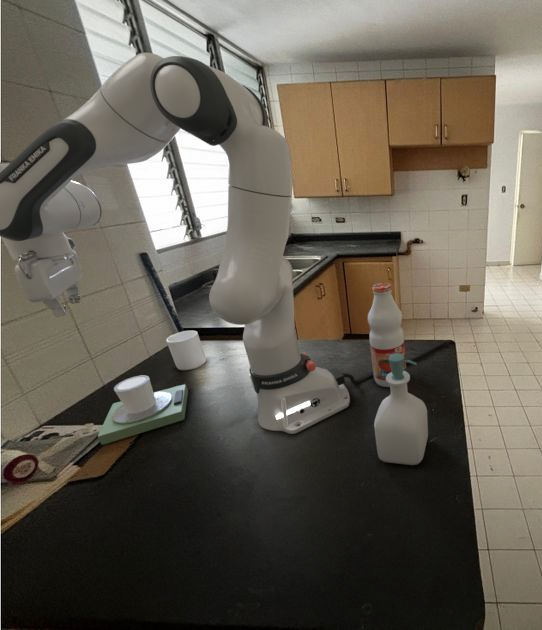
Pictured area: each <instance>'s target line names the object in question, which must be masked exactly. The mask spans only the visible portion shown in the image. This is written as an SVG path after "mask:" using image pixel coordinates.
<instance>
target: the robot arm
mask: <svg viewBox="0 0 542 630" xmlns="http://www.w3.org/2000/svg"><path fill="white" fill-rule="evenodd" d="M263 103H264V102H262V100H261V99H260V98H259V96H258V95H256V93H255V92H253V90H251V89H250V88H249V87H247V86H246V85H243V84H241V83H240V82H238V81H237V80H236V79H234V78H233V77H232V76H231V75H229V74H227V73H225V72H224V71H222V70H219V69H218V68H215V67H214V66H213V67H212V66H210V65H207V64H205V63H204V62H202V61H200V60H198V59H195V58H192V57H188V56H182V55H171V56H167V57H163V56H161V55H158V54H156V53H153V52H141V53H140V52H139V53H138V54H135V56H132V57H131V58H130V59H128V60H127V61H125V62H124V63H123V64H122V65H121V66H119V67H118V68H117V69H116V70H114V72H113V73H112V74H111V75H110V76H109V77H108V78H107V79H106V80H105V82H104V83H102V85H101V86H100V88H99V89H98V90H97V91H96V92H95V93H94V94H93V95H92V96H91V97H90V98H89V100H87V101H86V102H85V103H84V104H83V105H82V106H81V107H79V108H78V109H76V110H75V111H74V112H72V113H71V114H70V115H68V116H67V117H65V118H64V119H62V120H59V121H58V122H56V123H55V124H53V125H51V126H50V127H49V128H47V129H46V130H45V131H43V132H42V133H41V134H40V135H39V136H37V138H36V139H34V140H33V141H32V142H31V143H30V144H28V145H27V147H26V148H25V149H24V150H22V151H21V152H20V153H19V154H18V155H17V156H16V157H15V158H14V159H13V160H12V161H2V162H0V238H1V241H2V242H3V244H4V245H5V248H6V249H7V251H8V254H9V255H10V257H11V259H12V260H13V261H18V262H17V264H16V265H15V266H14V273H15V276H16V279H17V281H18V283H19V286H20V288H21V290H22V292H23V294H24V296H25V298H26V299H27V300H28V301H29V302H31V303H41V302H43V304H44V305H45V306H46V307H47V308H48V309H49V310H50V311H51V312H52V314H53V316H54V317H57V318H59V317H64V316H66V315H67V314H68V312H69V311H68V310H67V307H66V305H63V304H62V302H61V298H60V295H62V294H63V293H64V292H66V293H67V299H68V301H69V303H70V304H72V305H73V304H79V303H81V302H82V301H83V298H82V295H81V293H80V292H81V291H80V286H79V284H78V282H79V281H81V280H83V278H84V270H83V267H82V264H81V261H80V259H79V257H78V254H77V252H76V251H75V249H76V248H77V246H76V243H75V241H74V239H72V238H71V237H68V236H66V235H65V233H66V232H71V231H76V230H83V229H87V228H89V227H90V228H91V227H92V226H95V225H97V224H99V222H100V220H101V217H102V211H103V210H102V205H101V202H100V201H99V198H98V197H97V195H96V194H95V193H94V192H93V190H91V189H90V188H88V187H87V186H86V185H85V184H83V183H81V182H78V181H75V180H74V179H76V178H77V177H79V176H80V175H82V174H85V173H87V172H90V171H94V170H97V169H102V168H107V167H113V166H120V165H122V166H123V165H129V164H130V165H131V164H139V163H142V162H146V161H148V160H149V159H152V158H153V157H154V156H156V155H157V154H159V153H160V152H162V151H163V149H165V148H166V146H168V145H169V143H170V142H171V141H172V140H173V138H175V136H176V135H177V134H178V132H180V130H182V131H184V132H186V133H188V134H189V135H191V136H194V137H195V138H197V139H199V140H201V141H202V142H204V143H206V144H207V145H208V146H211V147H216V146H220V147H221V149H222V150H223V152H224V153H225V155H226V158H227V163H228V180H227V181H228V182H227V183H228V185H227V187H228V189H227V191H228V192H227V226H226V233H225V239H224V243H223V247H222V251H221V256H220V261H219V266H218V271H217V274H216V276H215V280H214V281H213V284H212V286H211V288H210V291H209V294H208V298H209V299H208V301H209V304H210V307H211V309H212V311H213V312H214V313H215V314H216V316H217V317H219V318H220V319H221V320H223V321H225V322H226V323H229V324H232V325H237V326H243V325H244V329H243V333H242V343H243V346H244V350H245V354H246V357H247V360H248V364H249V378H250V381H251V384H252V385H251V386H252V388H253V390H254V392H255V393H256V399H257V418H256V420H257V423H258V425H259V427H261V428H263V429H264V430H267V431H273V432H284V433H287V434H289V435H295V434H298V433H299V432H302V431H303V430H305V429H308V428H310V427H311V426H313V425H315V424H318V423H319V422H322V421H324V420H325V419H328V418H329V417H331V416H333V415H335V414H337V413H339V412H341V411H343V410H345V409H347V408H348V407H350V403H351V396H350V395H351V394H350V392H349V389H348V388H347V387H346V385H345V384H346V381H345V378H347V379H348V378H349V379H350V382H351V383H352V384H356V385H357V384H360V383H362V382H364V381H367V380H369V379H371V378H372V377H374V374H373V371H372V372H371V373H369V374H368V375H366V376H364V377H363V378H361V379H355V378H354V376H353V374H351V373H342V372H341V371H340V370H339V369H338V368H337V367H334V368H331V369H329V370H328V369H327V368H323V367H319V366H317V365H316V363H315V362H314V361H313V360H311V357H310V356H309V355H307V353H306V352H305V351H303V352H302V353H301V352H300V347H299V341H298V336H297V332H296V324H295V299H294V287H293V281H294V269H293V266H292V264H291V262H290V261H289V260H288V259H287V258H286V257H285V256H284V253H285V249H286V245H287V242H288V239H289V236H290V227H291V226H290V225H291V213H292V212H291V211H292V200H293V199H292V198H293V165H292V153H291V148H290V144H289V142H288V141H287V139H286V137H284V136H283V135H282V134H281V133H280V132H278V131H277V130H275V129H273V128H272V127H270V126H269V117H268V112H267V109H266V107H265V105H264V104H263ZM445 341H450V342H445ZM453 342H454V343H453ZM450 343H451V344H453V345H454V344H456V342H455V341H454V339H446V340H444V341H442V342H441V343H438V344H435V345H434V346H433V347H430V348H429V349H427V350H425V351H424V352H422V353H420V354H418V355H416V356H413V357H412V358H409V359H408V360H410V361H413V362H415V361H417V360H419V359H421V358H423V357H425V356H427V355H429V354H430V353H432V352H434V351H435V350H437V349H439V348H441V347H443V346H445V345H446V344H450ZM408 364H409V363H406V365H408Z"/></svg>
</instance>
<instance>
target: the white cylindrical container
mask: <svg viewBox="0 0 542 630" xmlns="http://www.w3.org/2000/svg"><path fill="white" fill-rule="evenodd" d="M113 391H114V393H115V394H116V395H117V398H118V399H119V400H120V402H121V401H122V403H123V405H124V406H125V408H126V409H127V411H128V412H129V413H131V414H132V413H140V412H143V411H145V410H148V409H149V408H151V407H152V406H154V405H155V403H156V400H155V396H154V393H153V392H154V390H153V386H152V383H151V379H150V376H149V375H146V374H145V375H144V374H141V375H136V376H132V377H129V378H126V379H123V380H122V381H119V383H117V384H115V385H114V387H113Z"/></svg>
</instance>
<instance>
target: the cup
mask: <svg viewBox="0 0 542 630" xmlns="http://www.w3.org/2000/svg"><path fill="white" fill-rule="evenodd" d="M165 341H166V344H167V347H168V349H169V352H170V354H171V357H172V359H173V362H174V365H175V367H176V368H177V370H178V371H190V370H193V369H197V368H199V367H201V366H203V365H204V364H205V363H206V361H207V356H206V354H205V351H204V347H203V345H202V342H201V339H200V336H199V334H198V331H196V330H183V331H179V332H175V333H174V334H171V335H169V336H168V337H167V338H166V340H165Z"/></svg>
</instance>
